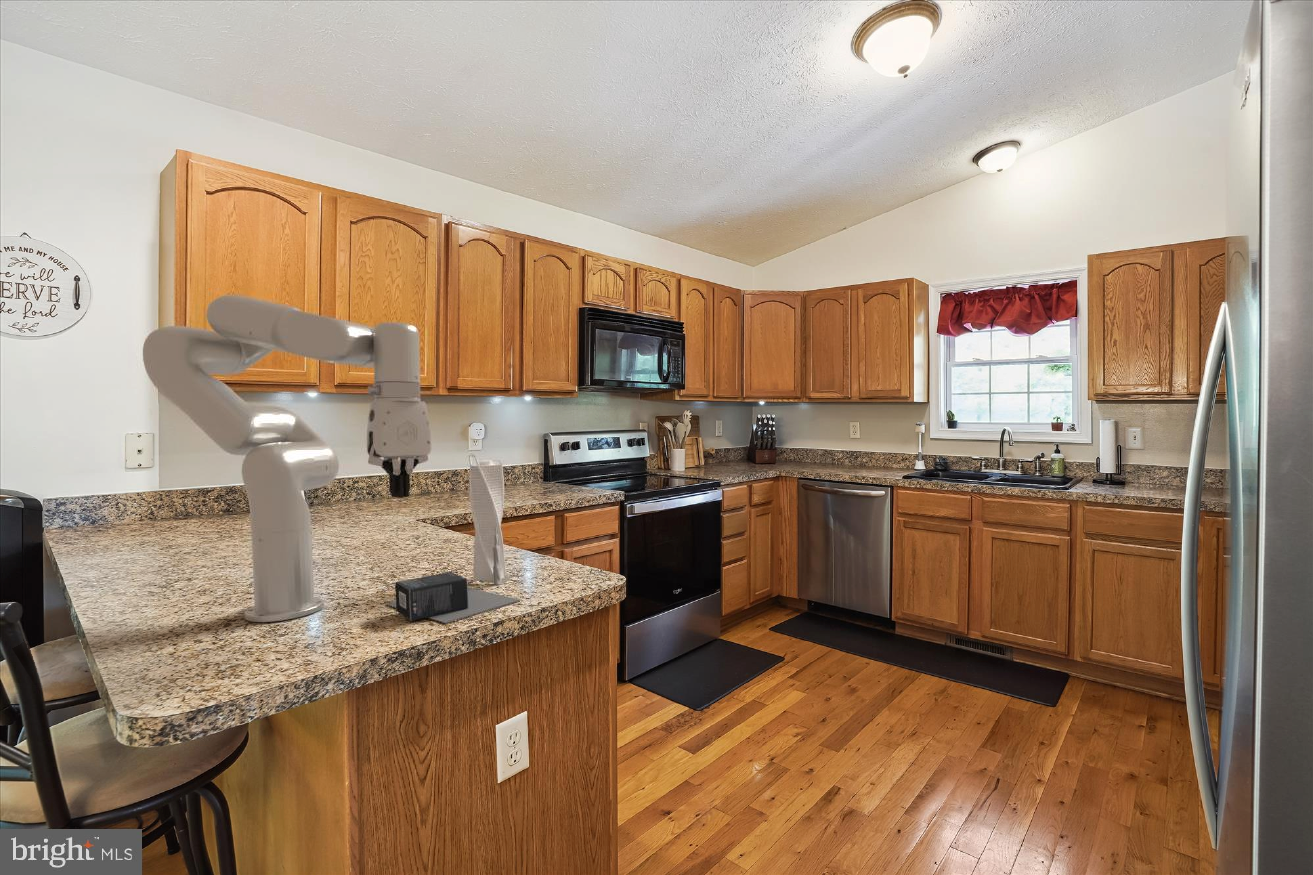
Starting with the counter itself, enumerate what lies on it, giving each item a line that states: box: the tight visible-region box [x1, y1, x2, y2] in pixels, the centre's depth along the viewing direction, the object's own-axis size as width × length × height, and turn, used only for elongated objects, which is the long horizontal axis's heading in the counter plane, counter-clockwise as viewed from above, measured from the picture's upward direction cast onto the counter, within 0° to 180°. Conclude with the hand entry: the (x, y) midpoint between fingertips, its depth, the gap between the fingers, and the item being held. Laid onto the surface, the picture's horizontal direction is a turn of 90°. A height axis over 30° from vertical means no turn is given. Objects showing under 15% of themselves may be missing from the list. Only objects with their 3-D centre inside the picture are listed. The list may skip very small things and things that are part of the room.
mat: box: [386, 586, 521, 625], centre depth 117 cm, size 20×16×1 cm
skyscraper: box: [468, 453, 514, 586], centre depth 134 cm, size 8×8×28 cm
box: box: [394, 571, 469, 622], centre depth 112 cm, size 8×6×11 cm
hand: (399, 496), depth 109 cm, fingers closed
